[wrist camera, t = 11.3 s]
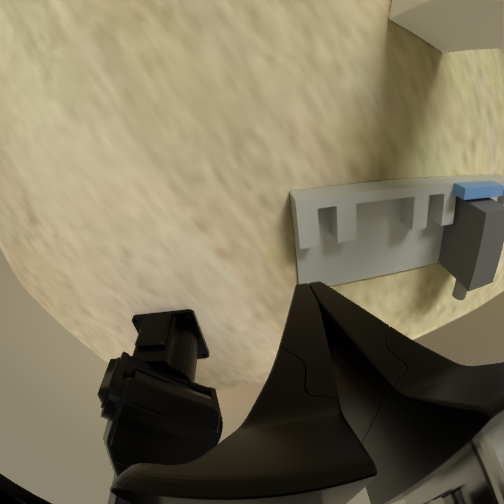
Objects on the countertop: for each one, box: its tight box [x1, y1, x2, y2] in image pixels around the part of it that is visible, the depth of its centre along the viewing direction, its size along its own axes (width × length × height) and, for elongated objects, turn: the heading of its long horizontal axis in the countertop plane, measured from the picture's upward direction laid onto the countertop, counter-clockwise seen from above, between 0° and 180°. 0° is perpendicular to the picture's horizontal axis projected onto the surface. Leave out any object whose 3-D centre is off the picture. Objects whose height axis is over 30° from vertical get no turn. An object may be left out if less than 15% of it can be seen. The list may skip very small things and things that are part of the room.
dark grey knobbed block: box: [438, 196, 504, 300], centre depth 20 cm, size 10×4×6 cm, turn 9°
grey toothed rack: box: [290, 175, 504, 286], centre depth 21 cm, size 9×24×4 cm, turn 99°
